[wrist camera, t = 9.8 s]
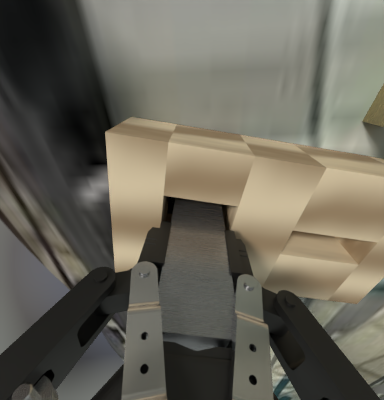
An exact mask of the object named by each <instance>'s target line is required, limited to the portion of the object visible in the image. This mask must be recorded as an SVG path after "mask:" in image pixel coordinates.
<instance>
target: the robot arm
mask: <svg viewBox="0 0 384 400" xmlns="http://www.w3.org/2000/svg"><path fill="white" fill-rule="evenodd" d="M171 224H172V223H171V222H168V221H161V224H160V228H156V227H152V228H151V229H150V230H149V231H148V233H147V236H146V239H145V242H144V245H143V248H142V251H141V254H140V257H139V260H138V262H137V264H136V265H135V266H134V267H133V268H131V269H129V270H127V271H122V272H116V273H115V272H114V271H113V270H112V269H111V268H109V267H99V268H96V269H94V270H92V271H91V272H90V273H89V274H88V275H87V276H86V277H84V278H83V279H82V280H81V281H80V282H79V283H78V284H77V285H76V286H75V287H74V288H73V289H71V290H70V291H69V292H68V293H67V294H66V295H65V296H64V297H63V298H62V299H61V300H59V301H58V302H57V303H56V304H55V305H54V306H53V307H52V308H51V309H50V310H49V311H48V312H46V313H45V314H44V315H43V316H42V317H41V318H40V319H39V320H38V321H37V322H36V323H34V324H33V325H32V326H31V327H30V328H29V329H28V330H27V331H26V332H25V333H23V334H22V335H21V336H20V337H19V338H18V339H17V340H16V341H15V342H14V343H13V344H12V345H10V346H9V348H7V349H6V350H5V351H4V352H3V353H2V354H1V355H0V400H58V394H57V391H56V389H57V388H58V386H59V385H60V384H61V383H62V381H63V380H64V379H65V377H66V376H67V374H68V373H69V372H70V371H71V370H72V368H73V367H74V366H75V364H76V363H77V362H78V360H79V359H80V358H81V357H82V355H83V354H84V353H85V351H86V350H87V349H88V348H89V346H90V345H91V344H92V343H93V341H94V339H96V337H97V336H98V335H99V333H100V332H101V331H102V330H103V328H104V327H105V326H106V324H107V323H108V322H109V321H110V319H111V318H112V317H113V315H114V314H115V313H117V312H122V311H127V310H128V315H127V328H126V342H125V356H124V364H123V365H122V366H121V367H120V369H119V370H118V371H117V372H116V373H115V374H114V375H113V376H112V377H111V378H110V379H109V380H108V382H107V383H106V384H105V385H104V386H103V387H102V388H101V389H100V390H99V391H98V392H97V393H96V395H95V396H94V397H93V398H92V399H91V400H278V398H277V397H276V395H275V394H274V393H273V385H272V370H271V356H270V346H271V348H272V350H273V351H274V353H275V355H276V357H277V359H278V360H279V362H280V364H281V366H282V367H283V369H284V371H285V373H286V374H287V376H288V378H289V380H290V381H291V383H292V385H293V387H294V388H295V390H296V392H297V394H298V396H299V397H300V399H301V400H380V398H379V397H378V396H377V395H376V393H375V392H374V391H373V390H372V389H371V387H370V386H369V385H368V384H367V382H366V381H365V380H364V379H363V377H362V376H361V375H360V374H359V372H358V371H357V370H356V369H355V367H354V366H353V365H352V364H351V362H350V361H349V360H348V359H347V357H346V356H345V355H344V354H343V352H342V351H341V350H340V349H339V347H338V346H337V345H336V344H335V342H334V341H333V340H332V339H331V337H330V336H329V335H328V334H327V332H326V331H325V330H324V329H323V327H322V326H321V325H320V324H319V322H318V321H317V320H316V319H315V317H314V316H313V315H312V314H311V312H310V311H309V310H308V309H307V307H306V306H305V305H304V304H303V302H302V301H301V300H300V299H299V298H298V297H297V296H296V295H295V294H294V293H292V292H290V291H287V290H281V291H279V292H278V293H277V294H276V293H274V292H272V291H269V290H267V289H265V288H263V287H262V286H261V284H260V282H259V281H258V280H257V279H256V278H255V277H254V276H253V272H252V268H251V265H250V261H249V258H248V254H247V250H246V246H245V244H244V243H243V242H242V240H241V239H236V236H235V232H234V231H231V230H224V232H225V239H226V246H227V253H228V261H229V268H230V274H232V280H233V287H234V294H235V296H234V307H233V318H232V329H231V340H230V341H229V343H228V345H227V346H226V348H224V347H214V348H209V349H204V350H199V351H195V350H192V349H190V348H187V347H185V346H183V345H180V344H178V343H176V342H168V341H163V334H162V319H161V306H160V304H159V291H158V287H159V282H160V276H161V271H162V266H163V265H164V262H165V257H166V252H167V246H168V241H169V235H170V230H171Z"/></svg>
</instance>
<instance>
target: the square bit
mask: <svg viewBox="0 0 384 400" xmlns="http://www.w3.org/2000/svg"><path fill="white" fill-rule="evenodd" d="M171 223H172V224H171V230H170V235H169V241H168V246H167V252H166V257H165V262H164V265H163V266H162V271H161V276H160V282H159V287H158V291H159V304H160V306H161V319H162V334H163V341H168V342H176V343H178V344H180V345H183V346H185V347H187V348H190V349H192V350H195V351H199V350H204V349H209V348H214V347H224V348H226V346H227V345H228V343H229V341H230V340H231V329H232V318H233V307H234V296H235V294H234V287H233V280H232V274H230V268H229V261H228V253H227V246H226V239H225V232H224V230H225V225H224V218H223V211H222V204H217V203H210V202H203V201H197V200H190V199H183V198H175V204H174V209H173V214H172V219H171Z"/></svg>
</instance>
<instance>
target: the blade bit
mask: <svg viewBox="0 0 384 400" xmlns="http://www.w3.org/2000/svg"><path fill="white" fill-rule="evenodd" d="M363 122H367V123H371V124H374V125H378V126H382V127H384V84H383V86H382V88H381V89H380V91H379V93H378V95H377V97H376V98H375V100H374V102H373V104H372V105H371V107H370V109H369V111H368V112H367V114H366V116H365V118H364V119H363Z"/></svg>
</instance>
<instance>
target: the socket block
mask: <svg viewBox="0 0 384 400" xmlns="http://www.w3.org/2000/svg"><path fill="white" fill-rule="evenodd" d="M105 137H106V151H107V165H108V179H109V193H110V207H111V221H112V235H113V248H114V262H115V273H116V272H122V271H127V270H129V269H131V268H133V267H134V266H135V265H136V264H137V262H138V260H139V257H140V254H141V251H142V248H143V245H144V242H145V239H146V236H147V233H148V231H149V230H150V229H151V228H152V227H156V228H160V224H161V221H168V222H171V219H172V214H169V213H167V211H168V202H169V197H176V198H183V199H190V200H197V201H203V202H210V203H217V204H222V211H223V218H224V225H225V230H231V231H234V232H235V236H236V239H241V240H242V242H243V243H244V244H245V246H246V250H247V254H248V258H249V261H250V265H251V268H252V272H253V276H254V277H255V278H256V279H257V280H258V281H259V282H260V284H261V286H262V287H263V288H265V289H267V290H269V291H272V292H274V293H276V294H277V293H278V292H279V291H281V290H287V291H290V292H292V293H294V294H295V295H296V296H297V297H305V298H313V299H321V300H329V301H337V302H345V303H353V304H357V303H358V302H359V301H360V300H361V299H362V298H363V297H364V296H365V295H366V294H367V293H368V292H369V291H370V290H371V289H372V288H373V287H374V286H375V285H376V284H377V283H378V282H379V281H380V280H382V279H383V278H384V159H382V158H376V157H370V156H364V155H358V154H352V153H346V152H340V151H334V150H328V149H322V148H316V147H310V146H304V145H298V144H292V143H286V142H280V141H274V140H268V139H262V138H256V137H250V136H244V135H238V134H232V133H226V132H220V131H214V130H208V129H202V128H196V127H190V126H184V125H178V124H172V123H166V122H160V121H154V120H148V119H142V118H136V117H130V118H128V119H127V120H125V121H123V122H122V123H120V124H118V125H116V126H115V127H113V128H111V129H110V130H108V131H106V132H105Z"/></svg>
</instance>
